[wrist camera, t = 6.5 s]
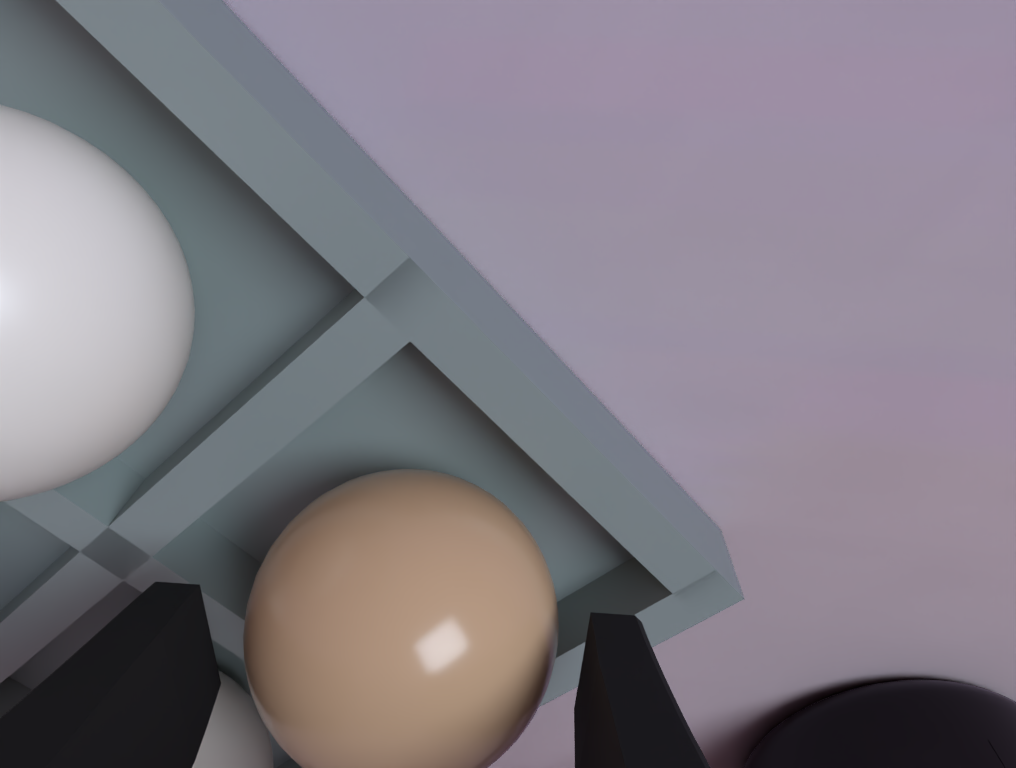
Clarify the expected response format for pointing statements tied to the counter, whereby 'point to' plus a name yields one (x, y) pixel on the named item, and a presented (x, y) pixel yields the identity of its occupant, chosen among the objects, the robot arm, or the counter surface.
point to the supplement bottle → (896, 729)
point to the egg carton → (262, 357)
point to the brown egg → (401, 626)
